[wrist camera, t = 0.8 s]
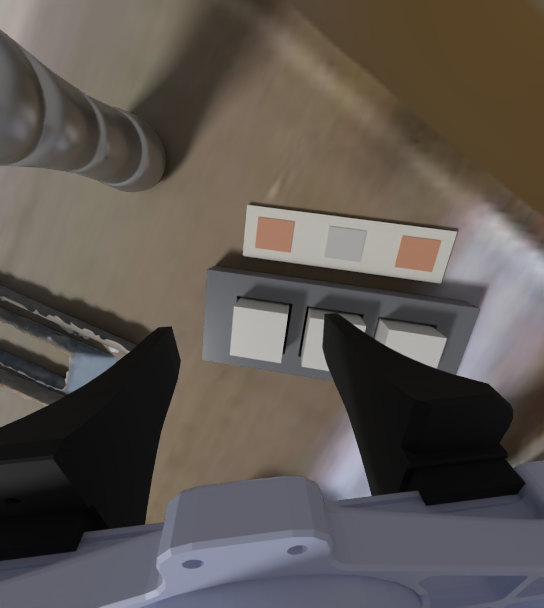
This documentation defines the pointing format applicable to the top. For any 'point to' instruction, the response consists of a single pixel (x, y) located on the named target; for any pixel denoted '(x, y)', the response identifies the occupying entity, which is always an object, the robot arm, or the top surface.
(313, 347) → the middle button
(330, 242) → the pattern card
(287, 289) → the button board
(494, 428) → the robot arm
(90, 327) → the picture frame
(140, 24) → the top surface
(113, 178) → the plastic bottle
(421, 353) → the button
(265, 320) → the button
